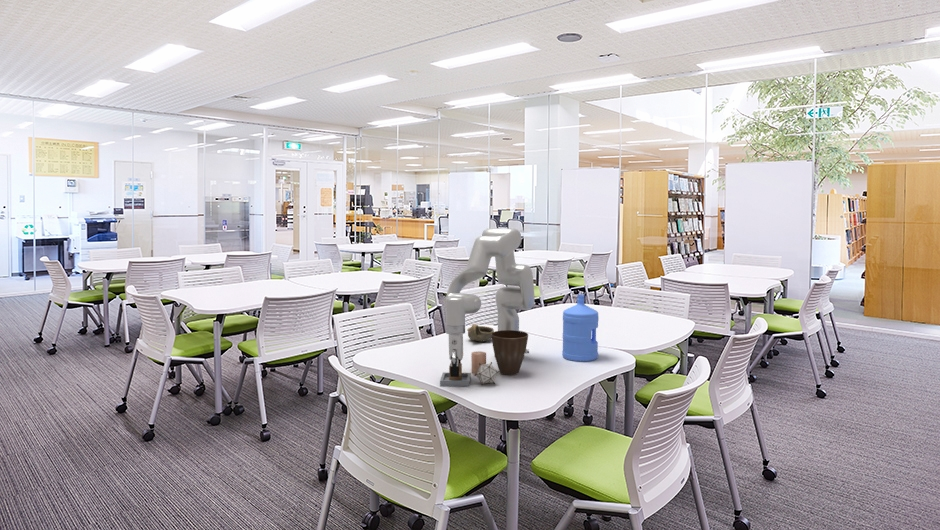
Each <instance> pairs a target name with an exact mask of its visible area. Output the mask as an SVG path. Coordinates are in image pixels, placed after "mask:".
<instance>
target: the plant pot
mask: <svg viewBox="0 0 940 530" xmlns="http://www.w3.org/2000/svg"><path fill="white" fill-rule="evenodd" d="M491 336H492V339H491V341H492V349H493V354H495V356H494V358H495V360H496V364H497V368H498V370H499V373H500V374H502V375H505V376H512V375H513V376H514V375H517V374H519V372H520V369H521V367H522V365H523V361H524V358H525V355H526V353H525V351H526V349H527V345H528V340H529V339H528V338H529V333H528V332H525V331H521V330H519V331H515V330H501V331H498V330H496V331H495V330H494V332H493V333H491Z"/></svg>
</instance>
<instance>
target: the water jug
mask: <svg viewBox="0 0 940 530" xmlns="http://www.w3.org/2000/svg"><path fill="white" fill-rule="evenodd" d="M576 297H577V299H576V301H577V303H576V304H575V305H572V306H570V307H568V308H566V309H564V310H563V312H562V351H561V352H562V357H563V358H564V359H566V360H568V361H572V362H592V361H595V360H597V359H598V358H599V351H598V349H599V342H598V341H597V329H598V328H599V312H598V311H597V310H596V309H594V308H592V307H590V306H588V305H586V304H585V294H584V295H583V294H578V295H576Z"/></svg>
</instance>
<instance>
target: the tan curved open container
mask: <svg viewBox="0 0 940 530" xmlns="http://www.w3.org/2000/svg"><path fill="white" fill-rule="evenodd" d="M466 331H467V336H468V338H469V339H470V340H473V341H475V342H480V343H481V342H488V341H489V340H492V336H491V333H493V332H495V329H494V328H492V327H489V326H486V325H485V326H484V325H483V326H482V325H478V324H475V323H473V324H472V325H471V326H470V327H468V328H466Z"/></svg>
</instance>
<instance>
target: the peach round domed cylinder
mask: <svg viewBox="0 0 940 530" xmlns="http://www.w3.org/2000/svg"><path fill="white" fill-rule="evenodd" d="M470 356H471V362H470V363H471V374H473V375H475V374H477V372H478V369H479V367H480V365H479V363H480V364H481V365H482V364H487V352H485V351H480V350H479V351H478V350H477V351H472V352H471V355H470Z"/></svg>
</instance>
